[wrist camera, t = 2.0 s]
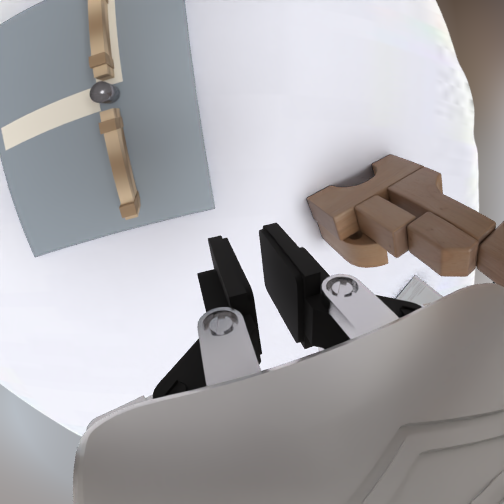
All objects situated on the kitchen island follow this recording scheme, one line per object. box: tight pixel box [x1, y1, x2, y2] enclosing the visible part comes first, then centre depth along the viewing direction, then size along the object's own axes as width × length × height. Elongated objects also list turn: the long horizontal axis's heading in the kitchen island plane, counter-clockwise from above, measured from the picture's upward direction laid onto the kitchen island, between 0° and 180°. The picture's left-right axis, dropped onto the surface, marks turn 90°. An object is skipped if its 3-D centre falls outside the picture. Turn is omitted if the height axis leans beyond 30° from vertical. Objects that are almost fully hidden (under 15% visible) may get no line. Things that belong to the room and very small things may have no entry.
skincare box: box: [396, 275, 443, 306], centre depth 42 cm, size 8×6×15 cm
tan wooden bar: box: [99, 108, 141, 220], centre depth 23 cm, size 10×1×4 cm, turn 7°
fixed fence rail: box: [88, 0, 114, 81], centre depth 16 cm, size 10×1×4 cm, turn 7°
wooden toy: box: [307, 155, 504, 287], centre depth 25 cm, size 15×7×25 cm, turn 115°
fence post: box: [90, 81, 120, 104], centre depth 20 cm, size 2×2×6 cm
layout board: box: [0, 0, 215, 257], centre depth 21 cm, size 28×22×1 cm
